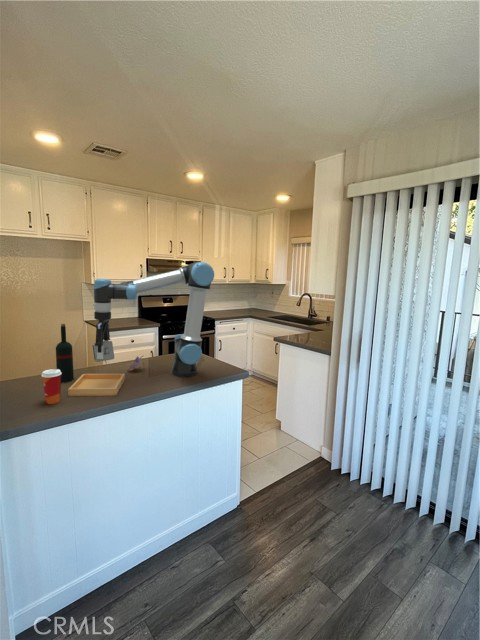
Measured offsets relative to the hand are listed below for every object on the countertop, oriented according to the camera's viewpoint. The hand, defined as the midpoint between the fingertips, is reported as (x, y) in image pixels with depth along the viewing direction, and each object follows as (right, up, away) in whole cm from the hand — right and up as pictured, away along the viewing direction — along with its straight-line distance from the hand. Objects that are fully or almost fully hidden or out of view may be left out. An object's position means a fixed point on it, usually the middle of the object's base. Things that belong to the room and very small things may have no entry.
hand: (103, 355), depth 158 cm
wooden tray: (-3, -16, +1) cm, 16 cm away
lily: (+7, -12, +29) cm, 32 cm away
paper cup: (-15, -19, -17) cm, 29 cm away
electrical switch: (0, -2, 0) cm, 2 cm away
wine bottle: (-24, -14, +10) cm, 30 cm away
